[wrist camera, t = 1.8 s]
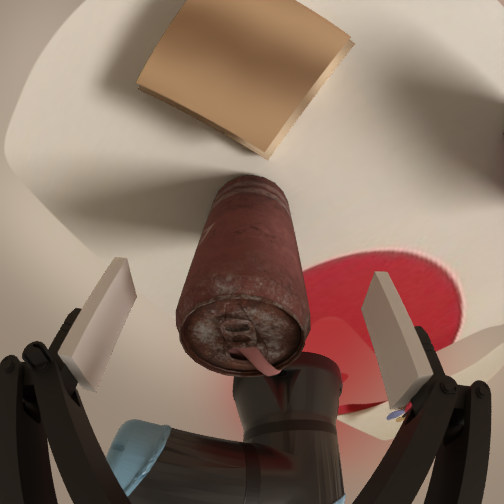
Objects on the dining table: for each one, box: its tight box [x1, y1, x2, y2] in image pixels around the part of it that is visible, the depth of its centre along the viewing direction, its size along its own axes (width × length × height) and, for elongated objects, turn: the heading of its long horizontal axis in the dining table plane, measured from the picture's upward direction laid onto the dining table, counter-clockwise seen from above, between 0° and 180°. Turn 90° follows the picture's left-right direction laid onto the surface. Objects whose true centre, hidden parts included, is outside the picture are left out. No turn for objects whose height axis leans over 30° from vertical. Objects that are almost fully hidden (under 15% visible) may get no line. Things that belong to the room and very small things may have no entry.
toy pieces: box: [387, 401, 412, 422], centre depth 44 cm, size 12×11×4 cm
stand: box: [136, 0, 355, 160], centre depth 15 cm, size 11×11×5 cm
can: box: [176, 175, 311, 377], centre depth 18 cm, size 6×6×14 cm
